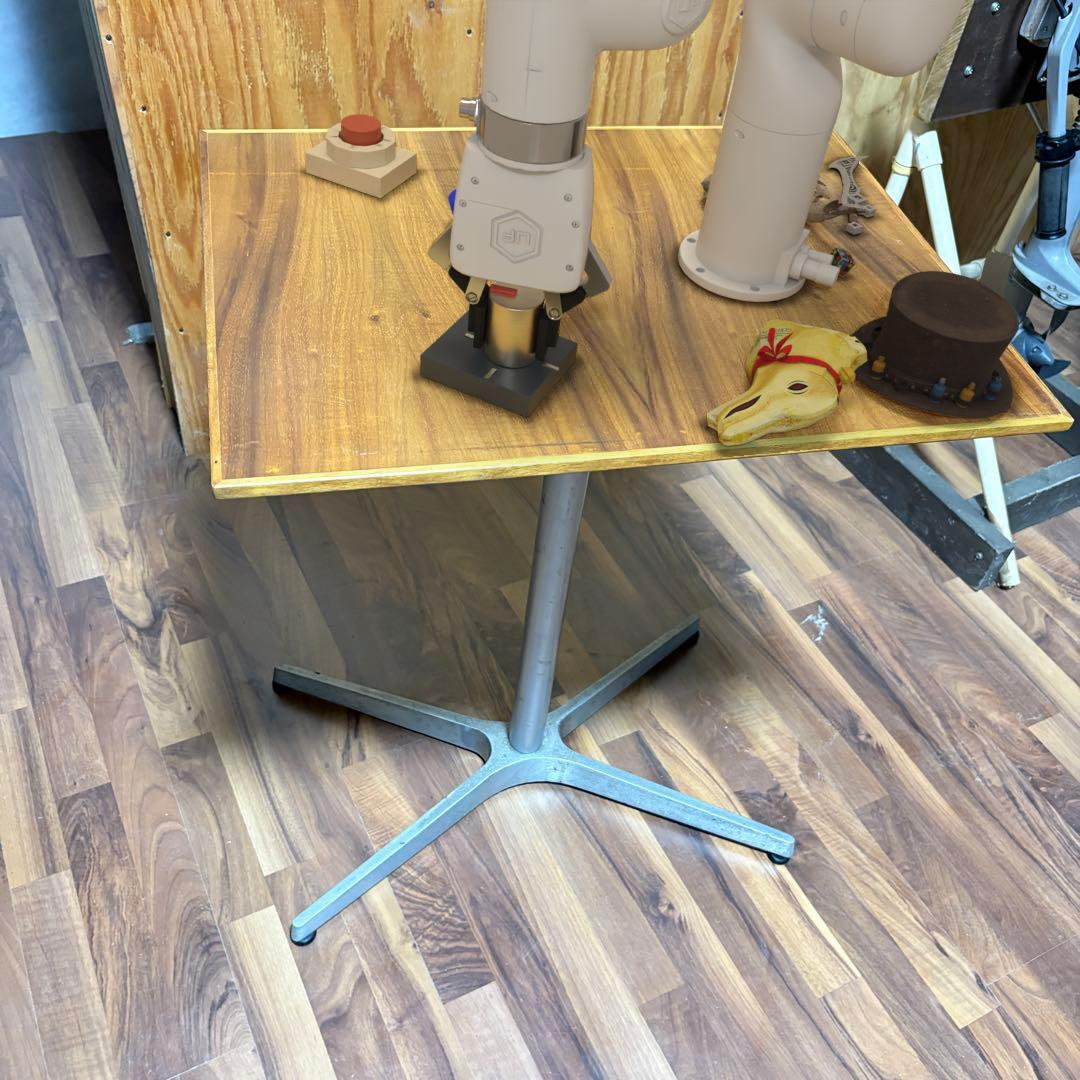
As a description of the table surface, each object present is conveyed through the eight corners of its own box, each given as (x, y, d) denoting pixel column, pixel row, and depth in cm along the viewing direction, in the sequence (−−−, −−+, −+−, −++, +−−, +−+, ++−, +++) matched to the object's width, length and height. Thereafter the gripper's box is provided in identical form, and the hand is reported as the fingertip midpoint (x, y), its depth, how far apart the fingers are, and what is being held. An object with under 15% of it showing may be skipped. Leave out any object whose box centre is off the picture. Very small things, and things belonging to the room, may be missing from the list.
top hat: (1016, 444, 89) (1073, 340, 82) (838, 402, 91) (877, 296, 83) (1007, 346, 100) (1056, 246, 92) (847, 311, 101) (882, 209, 94)
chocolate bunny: (885, 381, 89) (792, 484, 81) (770, 358, 96) (674, 452, 88) (882, 308, 85) (784, 410, 77) (762, 290, 91) (661, 382, 84)
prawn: (826, 109, 119) (787, 160, 124) (747, 70, 114) (709, 126, 118) (914, 251, 105) (865, 303, 109) (827, 214, 99) (780, 271, 103)
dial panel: (578, 363, 91) (581, 342, 90) (530, 418, 85) (533, 397, 84) (472, 323, 94) (474, 302, 92) (419, 374, 88) (420, 353, 86)
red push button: (388, 138, 109) (388, 121, 108) (367, 152, 107) (366, 135, 106) (355, 127, 110) (355, 110, 109) (333, 140, 108) (332, 123, 107)
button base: (416, 172, 112) (417, 135, 110) (380, 198, 108) (380, 160, 105) (344, 148, 115) (343, 111, 112) (306, 172, 110) (303, 135, 107)
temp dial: (543, 343, 89) (550, 282, 85) (531, 373, 86) (538, 311, 82) (492, 332, 90) (497, 271, 85) (478, 361, 86) (482, 299, 82)
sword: (829, 231, 112) (877, 239, 112) (831, 224, 111) (880, 231, 111) (826, 153, 126) (869, 159, 126) (828, 146, 126) (871, 152, 125)
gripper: (400, 127, 72) (398, 351, 85) (645, 172, 71) (606, 391, 84) (429, 85, 78) (423, 301, 90) (658, 126, 76) (619, 339, 89)
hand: (512, 343), depth 87 cm, fingers closed on temp dial, 4 cm apart
